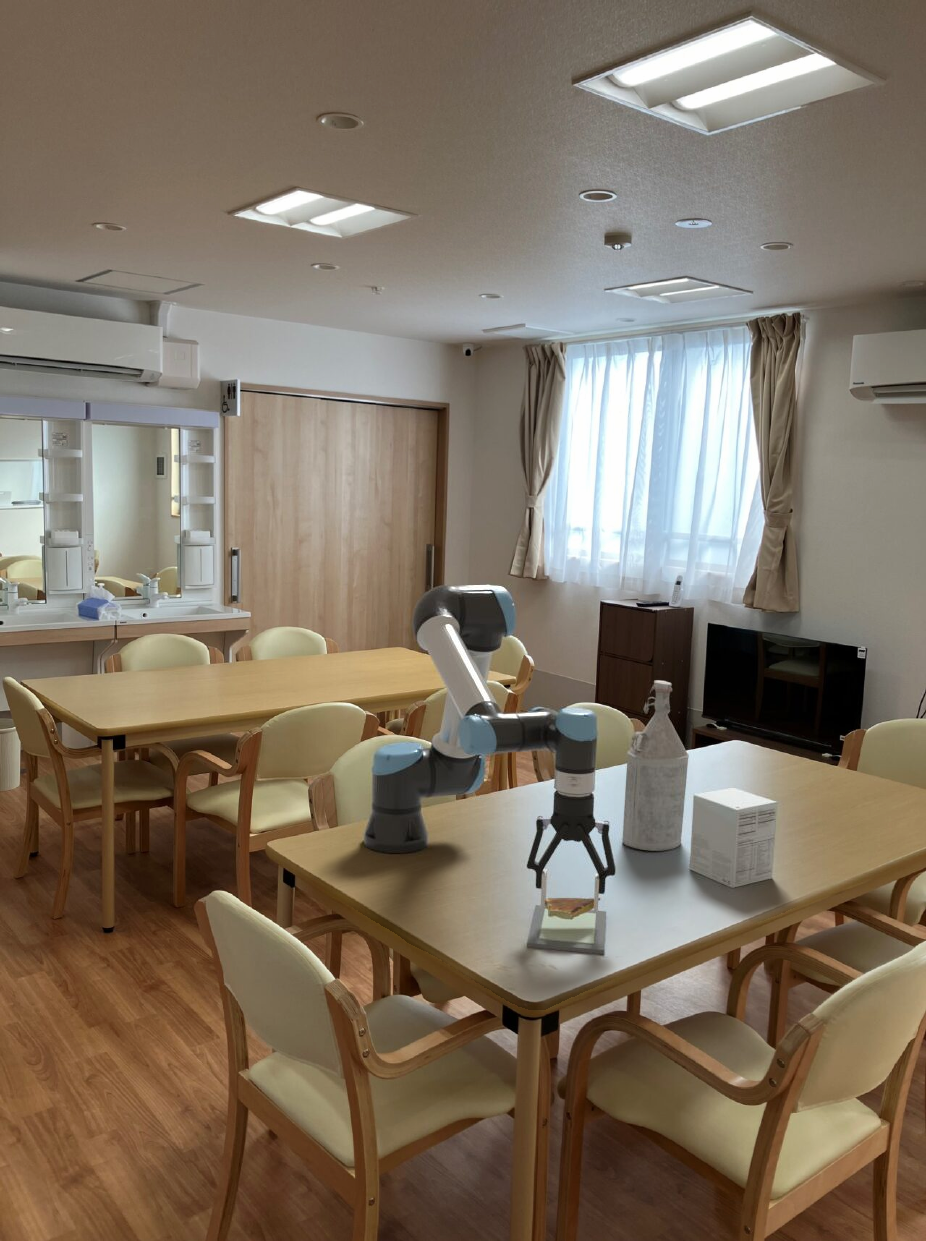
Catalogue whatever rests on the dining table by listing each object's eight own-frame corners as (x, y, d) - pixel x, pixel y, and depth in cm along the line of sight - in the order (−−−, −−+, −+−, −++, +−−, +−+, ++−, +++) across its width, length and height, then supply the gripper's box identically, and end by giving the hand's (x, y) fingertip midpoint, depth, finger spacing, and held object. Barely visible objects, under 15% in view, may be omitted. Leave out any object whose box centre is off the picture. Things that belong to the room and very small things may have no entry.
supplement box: (774, 878, 223) (779, 801, 221) (732, 889, 216) (737, 809, 214) (729, 860, 234) (733, 786, 232) (687, 869, 227) (692, 793, 225)
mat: (527, 946, 184) (527, 941, 184) (535, 908, 202) (535, 904, 202) (604, 954, 182) (604, 948, 182) (606, 915, 200) (606, 910, 200)
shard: (600, 905, 194) (600, 896, 194) (607, 921, 187) (608, 911, 187) (544, 905, 194) (544, 896, 194) (549, 920, 186) (549, 911, 186)
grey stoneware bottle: (607, 843, 244) (615, 680, 239) (653, 829, 255) (661, 674, 251) (649, 857, 234) (658, 689, 230) (694, 843, 245) (703, 682, 241)
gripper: (513, 792, 187) (509, 909, 190) (633, 801, 184) (628, 919, 186) (517, 782, 195) (514, 894, 197) (633, 790, 191) (627, 904, 194)
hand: (569, 906), depth 192 cm, fingers closed on shard, 9 cm apart
